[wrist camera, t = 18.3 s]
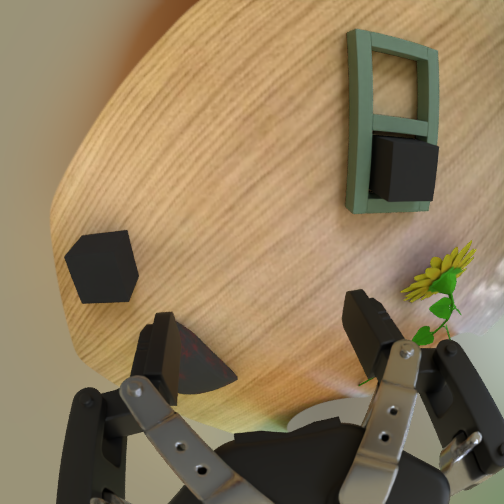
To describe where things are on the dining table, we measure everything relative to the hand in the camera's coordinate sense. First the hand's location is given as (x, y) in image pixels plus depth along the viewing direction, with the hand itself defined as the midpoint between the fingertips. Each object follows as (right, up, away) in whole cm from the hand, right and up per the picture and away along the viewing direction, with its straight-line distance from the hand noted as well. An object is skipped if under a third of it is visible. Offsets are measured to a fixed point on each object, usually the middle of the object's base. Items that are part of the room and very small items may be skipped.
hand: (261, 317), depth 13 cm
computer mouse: (-8, -11, +23) cm, 27 cm away
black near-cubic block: (+14, +12, +13) cm, 22 cm away
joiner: (+13, +15, +11) cm, 23 cm away
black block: (-15, +2, +15) cm, 21 cm away
